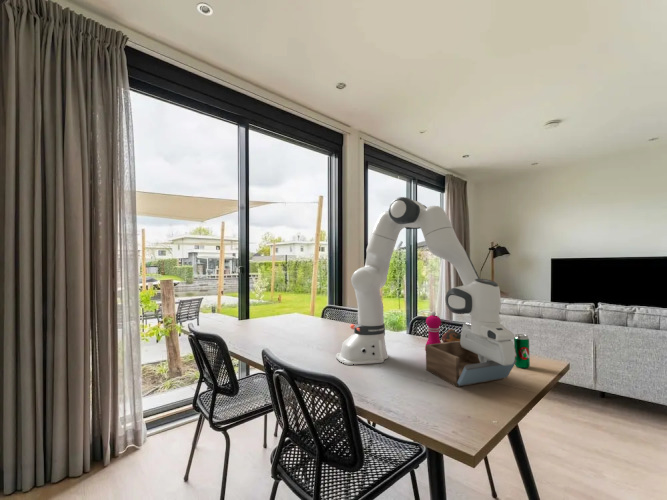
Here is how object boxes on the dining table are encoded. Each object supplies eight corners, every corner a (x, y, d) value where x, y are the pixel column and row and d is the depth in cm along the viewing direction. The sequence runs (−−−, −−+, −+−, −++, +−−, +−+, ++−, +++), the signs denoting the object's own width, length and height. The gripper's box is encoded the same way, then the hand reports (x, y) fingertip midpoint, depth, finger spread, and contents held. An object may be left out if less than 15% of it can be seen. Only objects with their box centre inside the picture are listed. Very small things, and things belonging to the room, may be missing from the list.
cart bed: (456, 386, 107) (455, 357, 107) (426, 370, 123) (425, 344, 123) (504, 378, 113) (503, 351, 113) (469, 363, 129) (468, 339, 129)
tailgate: (459, 385, 105) (467, 368, 102) (456, 382, 107) (465, 365, 103) (507, 377, 112) (516, 360, 108) (504, 374, 113) (513, 357, 109)
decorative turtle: (460, 344, 157) (460, 327, 157) (467, 353, 142) (467, 335, 142) (439, 343, 159) (439, 327, 159) (444, 353, 144) (444, 334, 144)
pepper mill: (434, 364, 129) (433, 313, 130) (421, 359, 136) (420, 311, 136) (447, 361, 133) (446, 312, 133) (434, 356, 139) (433, 309, 140)
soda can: (517, 363, 128) (516, 333, 128) (531, 366, 125) (530, 335, 125) (512, 366, 125) (512, 335, 125) (527, 370, 121) (526, 337, 121)
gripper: (456, 321, 117) (455, 359, 117) (502, 337, 98) (501, 382, 98) (470, 320, 119) (469, 357, 119) (518, 335, 100) (517, 380, 100)
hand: (484, 369), depth 109 cm, fingers closed
